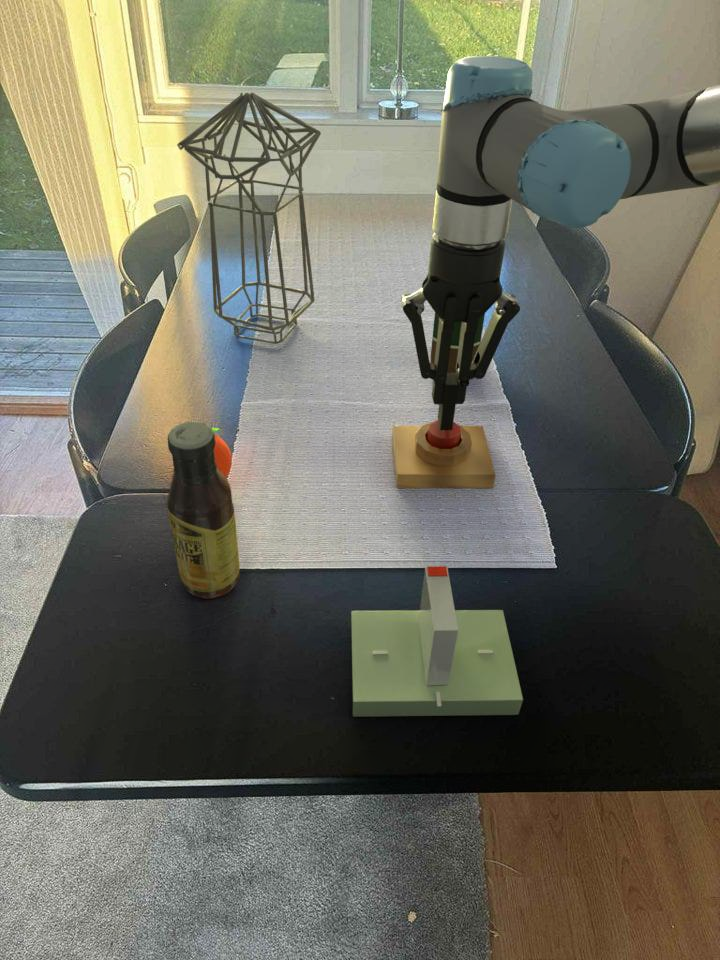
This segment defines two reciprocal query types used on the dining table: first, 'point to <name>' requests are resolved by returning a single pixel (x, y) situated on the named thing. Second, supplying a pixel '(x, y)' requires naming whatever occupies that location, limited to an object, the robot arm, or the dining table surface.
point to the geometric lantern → (228, 117)
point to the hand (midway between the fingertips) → (444, 423)
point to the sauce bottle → (201, 513)
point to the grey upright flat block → (437, 625)
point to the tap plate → (400, 670)
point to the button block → (441, 459)
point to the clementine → (222, 455)
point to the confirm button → (443, 436)
